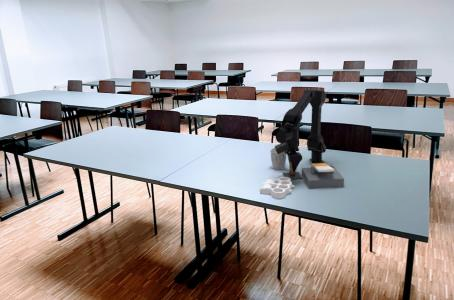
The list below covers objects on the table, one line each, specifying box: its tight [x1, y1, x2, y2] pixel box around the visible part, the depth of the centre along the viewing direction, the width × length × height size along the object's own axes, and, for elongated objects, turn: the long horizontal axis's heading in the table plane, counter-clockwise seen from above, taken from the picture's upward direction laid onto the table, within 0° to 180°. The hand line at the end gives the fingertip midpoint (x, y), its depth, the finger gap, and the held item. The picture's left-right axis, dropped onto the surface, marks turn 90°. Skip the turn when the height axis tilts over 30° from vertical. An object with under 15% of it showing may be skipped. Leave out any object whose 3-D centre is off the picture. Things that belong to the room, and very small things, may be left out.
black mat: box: [282, 171, 303, 181], centre depth 173 cm, size 8×8×1 cm
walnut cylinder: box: [288, 160, 296, 176], centre depth 171 cm, size 3×3×9 cm
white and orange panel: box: [310, 162, 334, 172], centre depth 164 cm, size 15×7×1 cm, turn 0°
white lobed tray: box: [259, 176, 296, 200], centre depth 159 cm, size 3×18×15 cm
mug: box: [270, 147, 287, 170], centre depth 185 cm, size 11×8×10 cm
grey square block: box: [301, 163, 345, 190], centre depth 165 cm, size 16×16×8 cm
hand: (292, 167), depth 172 cm, fingers open, 9 cm apart
